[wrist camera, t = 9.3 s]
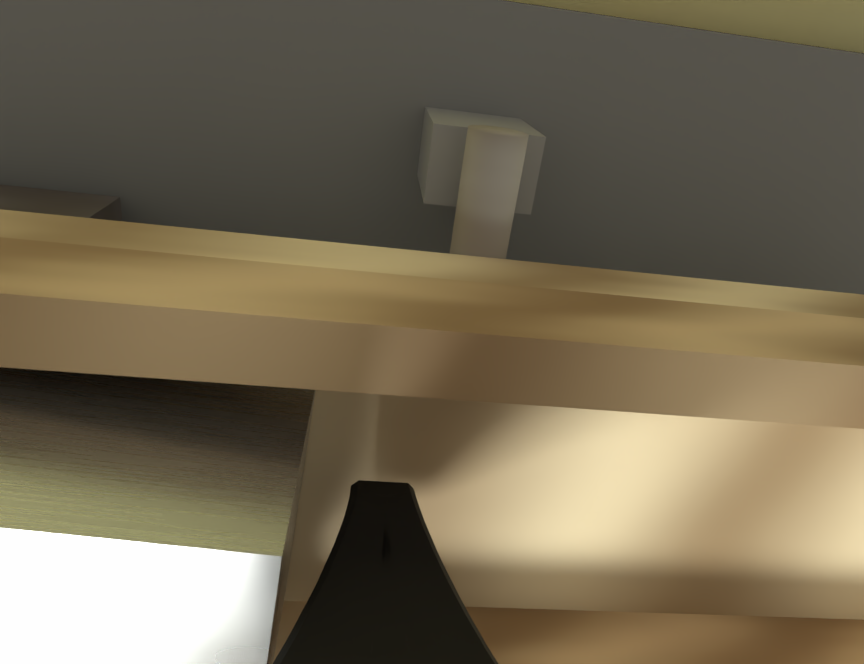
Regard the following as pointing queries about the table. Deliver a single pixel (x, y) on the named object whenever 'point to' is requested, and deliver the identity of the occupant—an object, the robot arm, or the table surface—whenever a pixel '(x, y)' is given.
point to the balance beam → (506, 414)
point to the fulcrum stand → (446, 128)
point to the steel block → (145, 517)
